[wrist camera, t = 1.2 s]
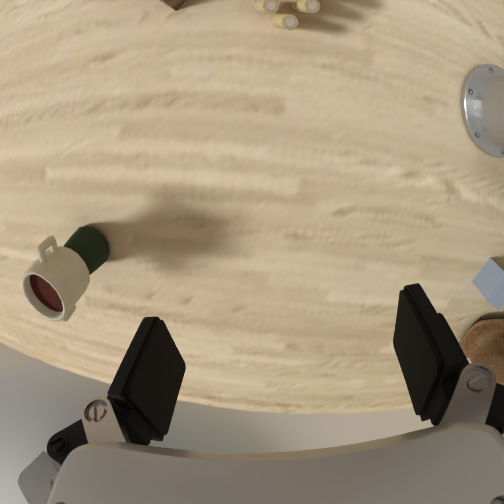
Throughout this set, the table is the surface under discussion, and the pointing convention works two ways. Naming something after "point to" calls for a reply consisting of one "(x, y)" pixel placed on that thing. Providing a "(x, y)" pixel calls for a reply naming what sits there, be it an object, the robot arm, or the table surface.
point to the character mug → (63, 273)
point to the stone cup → (486, 345)
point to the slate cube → (491, 283)
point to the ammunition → (302, 3)
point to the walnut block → (173, 3)
